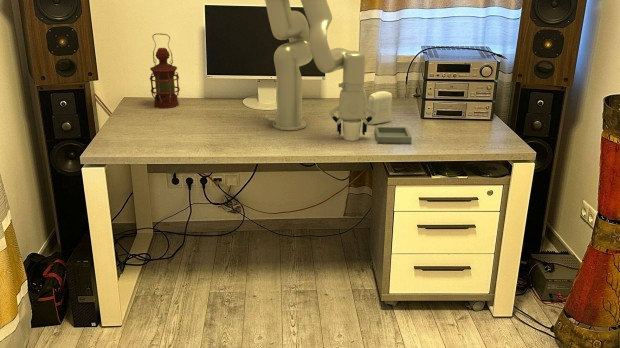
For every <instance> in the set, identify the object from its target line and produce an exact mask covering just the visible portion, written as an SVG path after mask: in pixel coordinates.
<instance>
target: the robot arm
mask: <svg viewBox="0 0 620 348" xmlns="http://www.w3.org/2000/svg"><path fill="white" fill-rule="evenodd" d="M264 2H265V6H266V7H265V8H266V13H267V17H268V21H269V24H270V29H271V32H272V35H273V37H274V38H275V39H277V40H280V41H283V40H289V42H287V43H284V44H281V45H279V46H278V47H277V49H276V50H275V52H274V53H273V62H274V67H275V72H276V74H275V75H276V76H275V77H276V113H275V114H265V115H264V116H265V121H268V122H273V123H272V126H273V128H275V129H277V130H282V131H299V130H302V129H304V128H305V127H306V126H307V123H306V121H305V120H303V78H302V74H301V71H300V67H303V66H305V65H307V64H309V63H310V62H311V61H312V60H313V61H314V64H315V65H316V68H317V70H319V71H320V72H321V73H323V74H330V73H333V72H336V71H339V70H342V82H341V83H338V88H341V89H340V92H339V97H338V105H337V106H335V107H334V108H332V109H331V110H329V112H328V114H329V116H330V117H331V118H332V120H333V121H334V122H335V123H336V132H337V133H338V135H339V136H341V135H342V122H343V119H361V121H362V124H361V129H362V130H361V131H362V132H361V133H362V135H363V136H365V135H366V134H365V133H367V129H368V125H369V124H368V123H369V122H370V121H371V120H372V118H373V117H374V116H375V114H376V113H375V111H373V110H372V109H370V108H369V107H368V97H367V92H366V90H365V71H366V69H365V67H366V55H365V53H364V52H363V51H359V50H349V49H346V48H342V47H335V48H330V46H329V42H328V29H329V26H330V24H331V22H332V20H333V15H332V12H331V10H330V7H329V4H328V0H300V2H301V5H302V7H303V10H304V13H305V15H304V14H303V13H302V12H300V11H298V10H292V7H291V4H290V0H264ZM367 111H368V112H369V113H371V114H370V116H369V117H368V118H367ZM336 113H337V114H338V117H337V116H336V115H335V114H336Z"/></svg>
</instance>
